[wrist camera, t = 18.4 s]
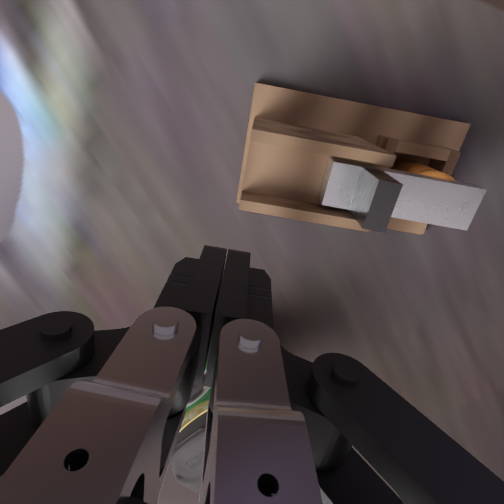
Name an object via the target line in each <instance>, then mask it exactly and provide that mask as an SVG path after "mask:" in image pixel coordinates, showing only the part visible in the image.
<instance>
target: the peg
mask: <svg viewBox="0 0 504 504" xmlns="http://www.w3.org/2000/svg"><path fill="white" fill-rule="evenodd" d="M390 169H394V170H399V171H405V172H410V173H416V174H421V175H427V176H432V177H437V178H443V179H448V180H454V181H456V180H455V179H454V178H453V177H451V176H450V175H447V174H445V173H443V172H440V171H438V170H435V169H433V168H430V167H428V166H426V165H423V164H421V163H418V162H416V161H413V160H411V159H409V158H404V157H403V158H397V159H395V161H394V164H393V167H391V166H390Z"/></svg>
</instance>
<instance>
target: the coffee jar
mask: <svg viewBox="0 0 504 504" xmlns="http://www.w3.org/2000/svg"><path fill="white" fill-rule="evenodd" d="M210 344H211V342H210ZM209 351H210V347H209ZM208 358H209V352H208V357H207V362H206V367H205V372H204V377H203V382H202V386H199V385H193V388H192V392H191V396H190V399H189V402H188V404H187V407H186V413H185V416H184V419H183V422H182V425H181V428H180V431H179V434H178V437H177V440H176V444H175V447H174V450H173V454H172V469H173V472H174V475H175V478H176V480H177V481H178V482H180V483H181V484H182V485H184V486H186V487H187V488H189V489H191V490H193V491H195V492H197V493H199V494H200V488H201V476H202V464H203V453H204V441H205V429H206V417H207V411H208V405H209V398H210V392H211V387H207V386H204V384H205V378H206V371H207V364H208Z"/></svg>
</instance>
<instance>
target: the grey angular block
mask: <svg viewBox="0 0 504 504" xmlns="http://www.w3.org/2000/svg"><path fill="white" fill-rule="evenodd" d="M485 192H486V189H484V188H482V187H480V186H477V185H475V184H470V183H465V182H459V181H454V180H448V179H443V178H437V177H432V176H427V175H421V174H416V173H410V172H405V171H399V170H394V169H388V168H383V167H377V166H372V165H366V164H361V163H355V162H350V161H345V160H339V159H334V158H330V159H329V163H328V166H327V170H326V174H325V178H324V181H323V185H322V189H321V192H320V196H319V200H320V202H321V204H322V205H325V206H331V207H336V208H342V209H348V210H349V211H350V212H351V213H352V215H353V216H354V218H355V219H356V220H357V222H358V223H359V225H360V226H361V227H362V229H367V230H373V231H379V232H384V233H385V231H386V229H387V226H388V223H389V221H390V218H391V217H393V218H399V219H405V220H410V221H416V222H422V223H427V224H433V225H439V226H445V227H450V228H456V229H462V230H467V229H468V227H469V225H470V223H471V221H472V219H473V217H474V215H475V213H476V211H477V209H478V207H479V205H480V203H481V201H482V199H483V197H484V195H485Z"/></svg>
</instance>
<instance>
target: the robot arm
mask: <svg viewBox="0 0 504 504" xmlns="http://www.w3.org/2000/svg"><path fill="white" fill-rule="evenodd" d="M226 252H227V249H225V248H219V247H213V246H207V245H205V246H204V248H203V251H202V254H201V256H200V259H194V258H188V257H185V258H184V259H182V260H181V261H179V262H177V263H176V264H175V266H174V268H173V270H172V272H171V275H170V276H169V278H168V280H167V282H166V284H165V286H164V288H163V290H162V292H161V294H160V296H159V298H158V300H157V302H156V304H155V306H154V308H152V309H149V310H147V311H145V312H143V313H141V314H140V315H139V316H138V317H137V318H136V319H135V321H134V322H133V324H132V325H131V326H130V327H127V328H122V329H113V330H99V331H94V325H93V322H92V321H91V319H90V318H88V317H87V316H85V315H83V314H80V313H77V312H70V311H60V312H53V313H48V314H45V315H41V316H39V317H36V318H33V319H30V320H27V321H24V322H21V323H19V324H16V325H13V326H10V327H7V328H4V329H2V330H0V407H2V406H4V405H6V404H8V403H10V402H12V401H14V400H16V399H18V398H20V397H22V396H24V395H26V398H27V402H25V403H23V404H21V405H20V406H17V407H15V408H13V409H12V410H10V411H8V412H6V413H4V414H2V415H0V504H157V503H158V498H159V494H160V490H161V487H162V483H163V480H164V477H165V474H166V471H167V468H168V465H169V462H170V459H171V456H172V453H173V450H174V447H175V444H176V440H177V437H178V434H179V431H180V428H181V425H182V422H183V419H184V416H185V413H186V407H187V404H188V402H189V399H190V396H191V392H192V388H193V385H199V386H202V382H203V377H204V372H205V367H206V362H207V357H208V352H209V358H208V364H207V371H206V378H205V384H204V386H207V387H211V392H210V398H209V405H208V411H207V417H206V429H205V441H204V453H203V464H202V476H201V488H200V498H199V504H504V481H502V480H501V479H500V478H499V477H498V476H496V475H495V474H494V473H493V472H492V471H490V470H489V469H488V468H487V467H485V466H484V465H483V464H482V463H481V462H479V461H478V460H477V459H476V458H475V457H473V456H472V455H471V454H470V453H469V452H467V451H466V450H465V449H464V448H463V447H461V446H460V445H459V444H458V443H457V442H455V441H454V440H453V439H452V438H451V437H449V436H448V435H447V434H446V433H445V432H443V431H442V430H441V429H440V428H439V427H437V426H436V425H435V424H434V423H433V422H431V421H430V420H429V419H428V418H427V417H425V416H424V415H423V414H422V413H421V412H419V411H418V410H417V409H416V408H415V407H413V406H412V405H411V404H410V403H409V402H407V401H406V400H405V399H404V398H403V397H401V396H400V395H399V394H398V393H397V392H395V391H394V390H393V389H392V388H391V387H389V386H388V385H387V384H386V383H385V382H383V381H382V380H381V379H380V378H379V377H377V376H376V375H375V374H374V373H373V372H371V371H370V370H369V369H368V368H367V367H365V366H364V365H363V364H362V363H360V362H359V361H357V360H355V359H354V358H351V357H349V356H347V355H343V354H339V353H326V354H323V355H320V356H319V357H317V358H316V359H315V361H314V363H312V362H310V361H307V360H305V359H302V358H300V357H298V356H295V355H293V354H292V353H290V352H288V351H287V350H286V349H284V348H283V347H282V346H281V345H280V342H279V338H278V336H277V334H276V333H275V332H274V330H273V315H272V299H271V298H272V293H271V279H270V277H269V276H268V275H267V273H266V272H265V270H262V269H256V268H250V253H249V252H243V251H237V250H231V249H229V250H228V255H227V260H226V264H225V259H226ZM224 265H225V269H224ZM223 272H224V274H223ZM222 278H223V279H222ZM210 342H211V344H210ZM209 347H210V351H209ZM352 445H353V446H354V447H355V448H356V449H357V450H358V451H359V453H360V454H361V455H362V456H363V457H364V458H365V459H366V460H367V461H368V462H369V463H370V464H371V465H372V466H373V467H374V468H375V469H376V471H377V472H378V473H379V474H380V475H381V476H382V477H383V478H384V479H385V480H386V481H387V482H388V483H389V484H390V485H391V486H392V488H393V489H394V490H395V491H396V492H397V494H398V495H399V497H400V498H401V499H400V498H399V497H398V496H397V495H396V494H395V493H394V492H393V491H392V490H391V489H390V488H389V487H388V485H387V484H386V483H385V482H384V481H383V480H382V479H381V478H380V477H379V476H378V475H377V474H376V473H375V472H374V470H373V469H372V468H371V467H370V466H369V465H368V464H367V463H366V462H365V461H364V460H363V459H362V458H361V457H360V455H359V454H358V453H357V452H356V451H355V450H354V449H353V448H352Z"/></svg>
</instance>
